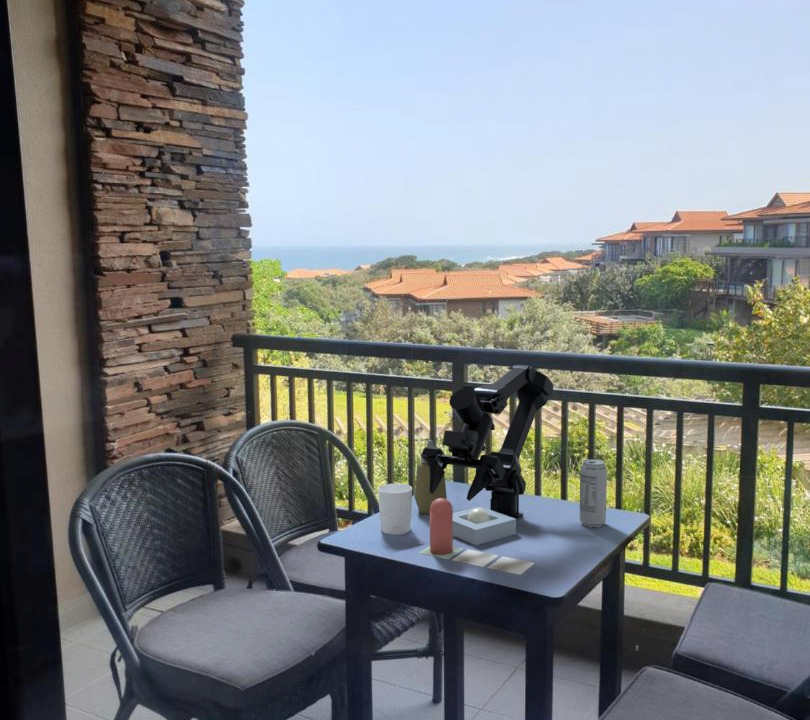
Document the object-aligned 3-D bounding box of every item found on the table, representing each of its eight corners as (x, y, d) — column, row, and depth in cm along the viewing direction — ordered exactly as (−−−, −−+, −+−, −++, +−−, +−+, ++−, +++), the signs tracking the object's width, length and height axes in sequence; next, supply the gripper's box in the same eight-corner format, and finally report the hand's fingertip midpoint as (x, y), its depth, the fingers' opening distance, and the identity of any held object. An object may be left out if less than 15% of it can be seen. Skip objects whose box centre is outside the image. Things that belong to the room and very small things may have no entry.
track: (539, 565, 162) (539, 562, 162) (523, 579, 155) (523, 576, 155) (433, 543, 175) (433, 541, 175) (413, 555, 168) (413, 553, 168)
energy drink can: (611, 525, 186) (612, 463, 184) (590, 529, 183) (591, 466, 181) (594, 518, 191) (595, 457, 189) (574, 522, 188) (575, 460, 187)
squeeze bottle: (407, 510, 198) (407, 440, 196) (432, 504, 203) (432, 435, 201) (428, 518, 192) (427, 445, 190) (453, 512, 197) (453, 440, 195)
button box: (480, 522, 189) (480, 506, 188) (516, 536, 179) (516, 518, 179) (441, 533, 182) (441, 516, 181) (475, 547, 172) (475, 529, 172)
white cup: (408, 537, 179) (408, 493, 178) (375, 534, 181) (374, 492, 180) (415, 525, 187) (415, 484, 186) (383, 523, 189) (382, 482, 188)
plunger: (479, 527, 184) (479, 504, 183) (493, 532, 180) (494, 509, 179) (462, 531, 181) (462, 508, 180) (477, 537, 177) (477, 513, 176)
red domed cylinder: (450, 546, 172) (450, 494, 170) (454, 554, 167) (454, 501, 166) (428, 547, 171) (428, 495, 170) (432, 555, 166) (431, 502, 165)
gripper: (424, 411, 178) (397, 471, 170) (499, 419, 167) (474, 483, 160) (443, 438, 185) (418, 496, 178) (515, 448, 175) (492, 510, 167)
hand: (449, 496), depth 170 cm, fingers open, 9 cm apart
